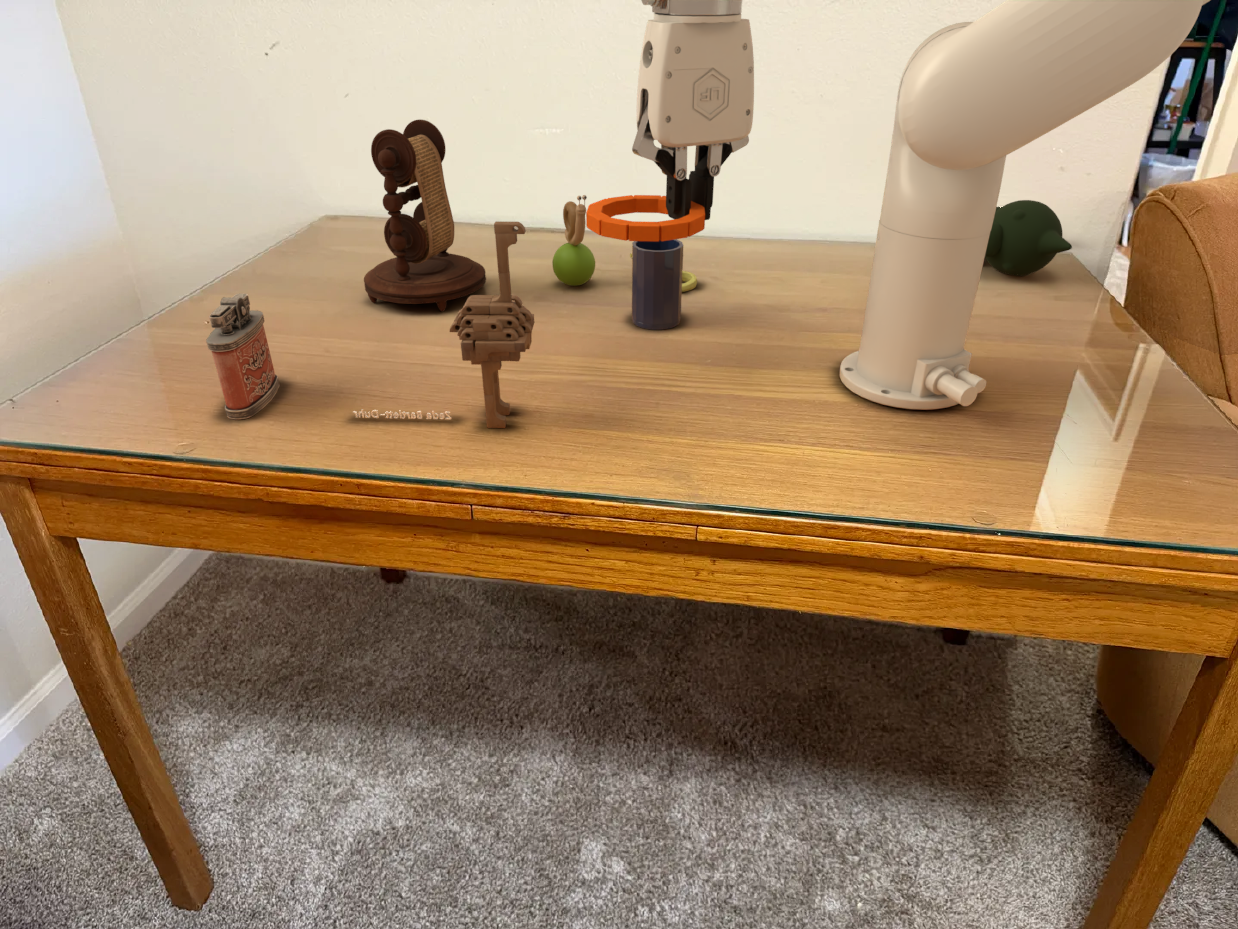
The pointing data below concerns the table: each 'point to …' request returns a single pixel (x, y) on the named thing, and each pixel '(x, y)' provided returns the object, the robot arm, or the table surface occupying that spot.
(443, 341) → the table surface
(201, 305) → the table surface
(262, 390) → the lighter
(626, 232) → the ring
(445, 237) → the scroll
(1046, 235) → the toy figurine
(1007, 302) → the table surface
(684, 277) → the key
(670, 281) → the cup
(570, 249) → the snail figurine
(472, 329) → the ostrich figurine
